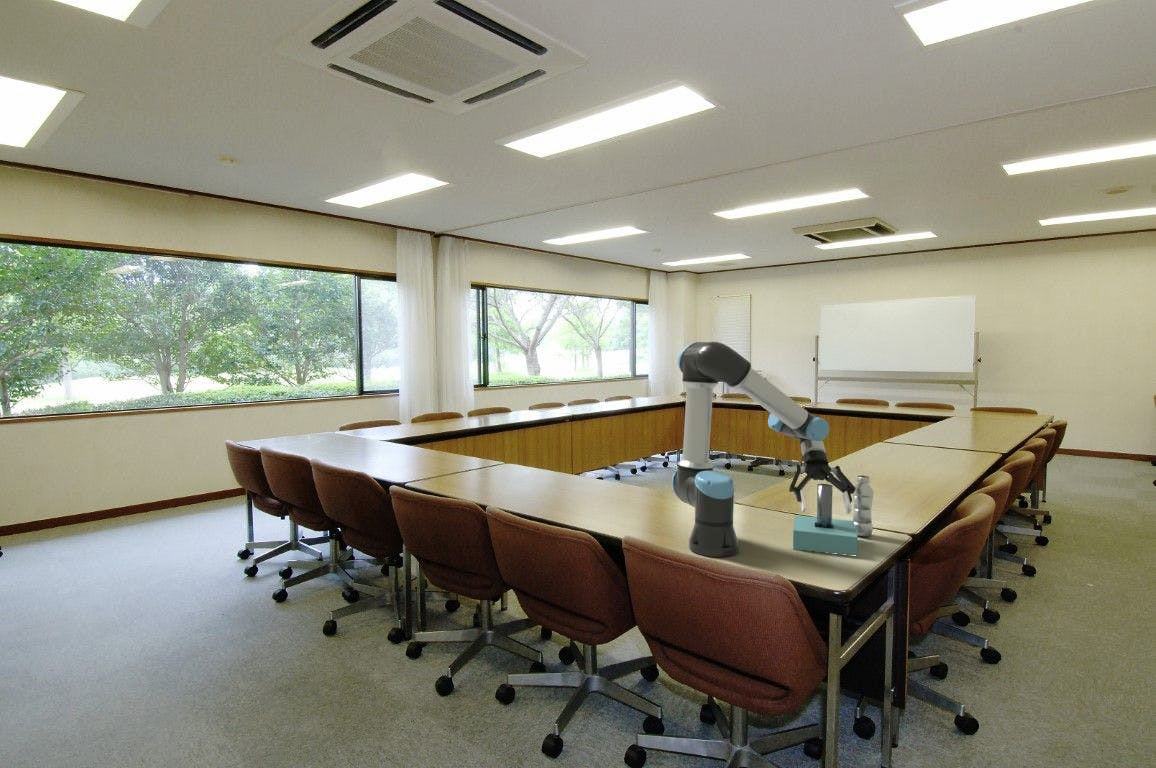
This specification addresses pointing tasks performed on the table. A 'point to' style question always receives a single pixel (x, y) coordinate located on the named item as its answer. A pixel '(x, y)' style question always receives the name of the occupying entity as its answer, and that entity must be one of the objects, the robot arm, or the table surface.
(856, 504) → the plastic bottle
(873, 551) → the table surface
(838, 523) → the socket block
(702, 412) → the robot arm
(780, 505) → the table surface
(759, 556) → the table surface
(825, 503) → the pin
